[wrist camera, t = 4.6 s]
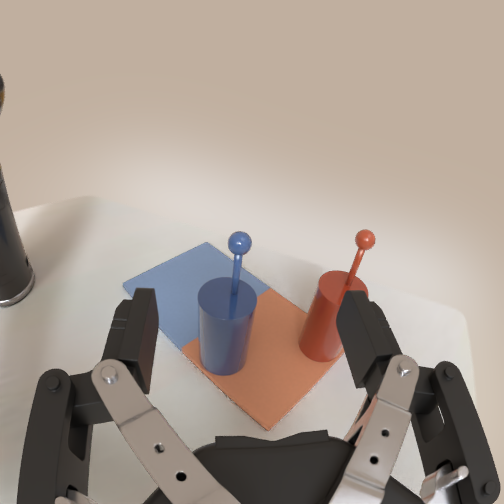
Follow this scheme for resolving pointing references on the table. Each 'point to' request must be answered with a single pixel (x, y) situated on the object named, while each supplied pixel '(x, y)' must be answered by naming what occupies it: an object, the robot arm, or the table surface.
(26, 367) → the table surface
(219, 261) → the sorting board
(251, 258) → the table surface
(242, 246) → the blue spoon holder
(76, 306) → the table surface
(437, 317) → the table surface
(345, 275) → the terracotta spoon holder
